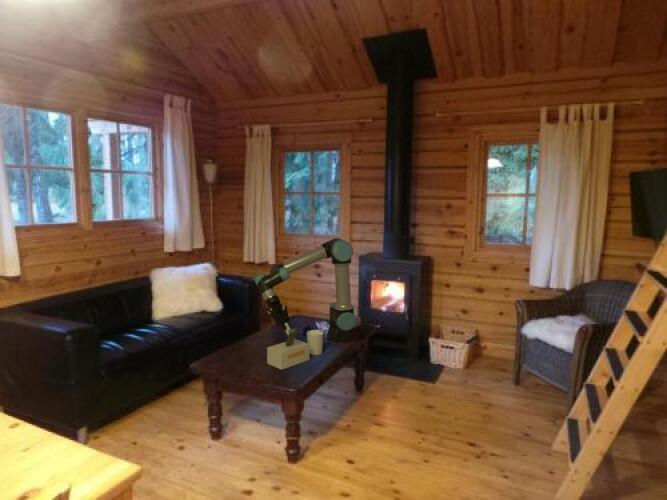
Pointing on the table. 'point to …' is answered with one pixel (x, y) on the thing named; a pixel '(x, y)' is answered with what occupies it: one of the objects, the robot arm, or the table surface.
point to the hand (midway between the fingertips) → (290, 334)
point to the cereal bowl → (357, 321)
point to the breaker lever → (291, 336)
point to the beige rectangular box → (287, 354)
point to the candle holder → (315, 341)
